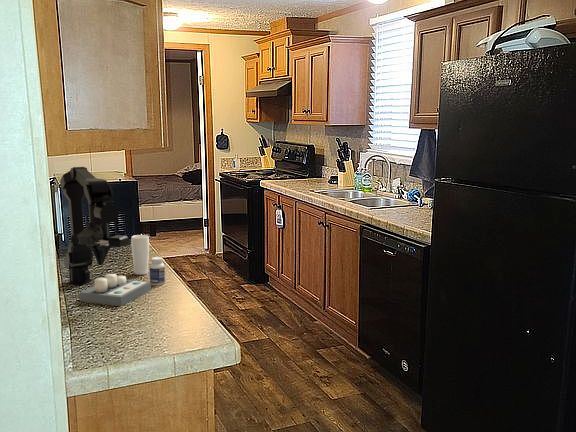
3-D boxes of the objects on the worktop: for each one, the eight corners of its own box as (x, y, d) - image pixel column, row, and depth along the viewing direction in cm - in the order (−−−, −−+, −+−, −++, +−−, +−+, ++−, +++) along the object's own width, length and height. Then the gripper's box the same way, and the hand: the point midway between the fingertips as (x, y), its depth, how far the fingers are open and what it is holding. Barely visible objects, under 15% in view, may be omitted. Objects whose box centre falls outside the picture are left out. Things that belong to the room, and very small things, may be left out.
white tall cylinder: (128, 274, 212) (127, 237, 209) (139, 270, 218) (138, 234, 215) (143, 276, 209) (141, 238, 207) (153, 272, 215) (152, 235, 213)
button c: (112, 288, 190) (112, 278, 190) (119, 285, 194) (118, 275, 194) (122, 289, 189) (121, 279, 189) (128, 286, 193) (128, 276, 192)
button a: (92, 291, 180) (91, 280, 179) (99, 288, 183) (99, 277, 183) (102, 292, 178) (102, 281, 178) (110, 289, 182) (109, 278, 182)
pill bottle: (161, 286, 197) (160, 260, 196) (147, 285, 198) (146, 259, 197) (167, 282, 203) (166, 256, 201) (153, 281, 204) (153, 256, 202)
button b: (102, 287, 185) (102, 276, 184) (109, 283, 189) (109, 273, 188) (112, 288, 184) (112, 277, 183) (119, 284, 187) (119, 274, 187)
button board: (79, 301, 180) (79, 291, 179) (112, 286, 197) (111, 277, 196) (121, 306, 175) (121, 296, 175) (150, 290, 192) (150, 281, 192)
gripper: (57, 221, 172) (60, 268, 175) (108, 224, 167) (111, 273, 169) (80, 215, 183) (82, 260, 185) (128, 218, 177) (130, 264, 180)
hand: (100, 264), depth 180 cm, fingers closed
